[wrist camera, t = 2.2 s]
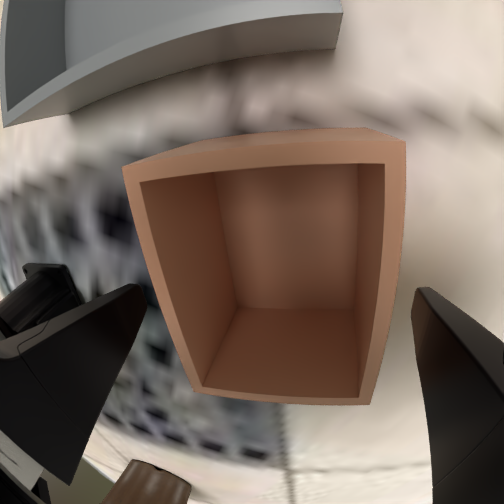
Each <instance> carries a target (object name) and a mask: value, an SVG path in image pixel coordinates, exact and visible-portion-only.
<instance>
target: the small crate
mask: <svg viewBox="0 0 504 504" xmlns="http://www.w3.org/2000/svg"><path fill="white" fill-rule="evenodd" d="M121 168H122V172H123V177H124V182H125V186H126V190H127V195H128V199H129V203H130V207H131V211H132V215H133V219H134V223H135V226H136V230H137V234H138V237H139V241H140V244H141V248H142V251H143V255H144V258H145V261H146V265H147V268H148V271H149V274H150V277H151V281H152V284H153V287H154V290H155V293H156V296H157V299H158V302H159V304H160V307H161V310H162V313H163V316H164V319H165V321H166V324H167V327H168V329H169V332H170V335H171V337H172V340H173V343H174V345H175V348H176V350H177V353H178V355H179V358H180V360H181V363H182V365H183V367H184V370H185V372H186V375H187V377H188V379H189V382H190V384H191V386H192V388H193V391H194V392H197V393H203V394H209V395H215V396H222V397H229V398H236V399H244V400H253V401H263V402H274V403H287V404H305V405H370V402H371V399H372V395H373V392H374V388H375V385H376V381H377V378H378V374H379V370H380V367H381V363H382V359H383V354H384V350H385V346H386V341H387V337H388V332H389V327H390V322H391V317H392V312H393V306H394V301H395V295H396V288H397V282H398V274H399V267H400V259H401V250H402V239H403V228H404V213H405V192H406V142H405V141H402V140H400V139H397V138H394V137H392V136H389V135H386V134H383V133H380V132H377V131H374V130H371V129H368V128H321V129H301V130H286V131H274V132H263V133H253V134H244V135H236V136H228V137H221V138H214V139H207V140H201V141H198V142H194V143H191V144H188V145H184V146H181V147H178V148H175V149H171V150H168V151H165V152H162V153H159V154H156V155H153V156H150V157H147V158H145V159H142V160H139V161H136V162H133V163H131V164H128V165H125V166H123V167H121Z"/></svg>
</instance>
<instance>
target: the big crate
mask: <svg viewBox="0 0 504 504" xmlns="http://www.w3.org/2000/svg"><path fill="white" fill-rule="evenodd" d="M342 16H343V10H342V5H341V1H340V0H4V5H3V12H2V21H1V32H0V98H1V110H2V120H3V128H5V127H9V126H13V125H17V124H21V123H25V122H29V121H34V120H38V119H43V118H48V117H53V116H59V115H64V114H69V113H71V112H73V111H75V110H77V109H79V108H81V107H84V106H86V105H88V104H90V103H93V102H95V101H97V100H100V99H102V98H104V97H107V96H109V95H112V94H114V93H117V92H119V91H122V90H125V89H127V88H130V87H133V86H136V85H139V84H141V83H144V82H147V81H151V80H154V79H157V78H160V77H163V76H167V75H170V74H173V73H177V72H181V71H184V70H188V69H192V68H196V67H200V66H205V65H209V64H213V63H218V62H223V61H228V60H233V59H239V58H245V57H251V56H258V55H265V54H273V53H281V52H291V51H303V50H320V49H335V48H336V43H337V39H338V34H339V30H340V25H341V21H342Z"/></svg>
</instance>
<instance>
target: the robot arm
mask: <svg viewBox="0 0 504 504" xmlns="http://www.w3.org/2000/svg"><path fill="white" fill-rule="evenodd" d="M22 268H23V272H24V274H25V276H26V279H27V280H26V281H24V282H23V283H22V284H21V285H19V286H18V287H17V288H16V289H14V290H13V291H12V292H11V293H10V294H8V295H7V296H6V297H5V298H4V299H2V300H1V301H0V504H51V501H50V496H49V491H48V487H47V481H46V480H44V479H43V478H42V477H40V475H41V474H42V472H43V471H44V469H46V470H47V471H48V472H50V473H51V474H52V475H54V476H55V477H57V478H58V479H60V480H61V481H63V482H64V483H65V484H67V485H68V486H70V484H71V483H72V480H73V478H74V475H75V472H76V470H77V467H78V465H79V462H80V460H81V457H82V455H83V452H84V450H85V448H86V445H87V443H88V440H89V439H88V438H90V435H91V433H92V431H93V428H94V426H95V424H96V421H97V419H98V417H99V415H100V412H101V410H102V408H103V406H104V404H105V401H106V399H107V397H108V395H109V393H110V391H111V388H112V386H113V384H114V382H115V380H116V378H117V376H118V374H119V372H120V370H121V368H122V366H123V364H124V362H125V360H126V357H127V355H128V353H129V351H130V350H131V347H132V345H133V343H134V341H135V338H136V336H137V333H138V331H139V328H140V326H141V323H142V321H143V318H144V316H145V313H146V311H147V302H146V299H145V296H144V294H143V291H142V288H141V286H140V285H138V284H127V285H125V286H123V287H120V288H118V289H116V290H114V291H111V292H109V293H107V294H105V295H103V296H100V297H98V298H96V299H94V300H92V301H89V302H87V303H85V304H83V305H81V302H80V300H79V298H78V296H77V293H76V291H75V289H74V287H73V284H72V282H71V279H70V277H69V274H68V272H67V270H66V268H65V267H64V266H63V265H49V264H25V265H24V266H23V267H22ZM411 320H412V327H413V335H414V344H415V353H416V361H417V367H418V371H419V376H420V382H421V387H422V393H423V398H424V405H425V411H426V418H427V425H428V434H429V443H430V453H431V466H432V486H433V488H432V491H433V504H504V342H502V341H501V340H500V339H499V338H497V337H496V336H495V335H494V334H492V333H491V332H490V331H488V330H487V329H486V328H485V327H483V326H482V325H481V324H479V323H478V322H477V321H475V320H474V319H473V318H471V317H470V316H469V315H467V314H466V313H465V312H463V311H462V310H461V309H459V308H458V307H457V306H455V305H454V304H452V303H451V302H450V301H448V300H447V299H445V298H444V297H443V296H441V295H440V294H438V293H437V292H436V291H434V290H433V289H431V288H430V287H419V288H417V289H416V291H415V296H414V301H413V305H412V310H411Z"/></svg>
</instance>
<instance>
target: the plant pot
mask: <svg viewBox="0 0 504 504" xmlns="http://www.w3.org/2000/svg"><path fill="white" fill-rule="evenodd" d="M190 492H191V486H190V485H189V484H188V483H186V482H185V481H184V480H182V479H181V478H179V477H177V476H174V475H172V474H171V473H169V472H166V471H164V470H163V471H159V470H157V469H155V467H154V466H153V465H150V464H147V463H145V462H142V461H138V460H131V461H130V463H129V464H128V466H127V467H126V469H125V470H124V472H123V473H122V475H121V476H120V477H119V479H118V480H117V482H116V483H115V484H114V486H113V487H112V489H111V490H110V492H109V493H108V494H107V496H106V497H105V498H104V500H103V501H102V503H101V504H187V501H188V498H189V495H190Z"/></svg>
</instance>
